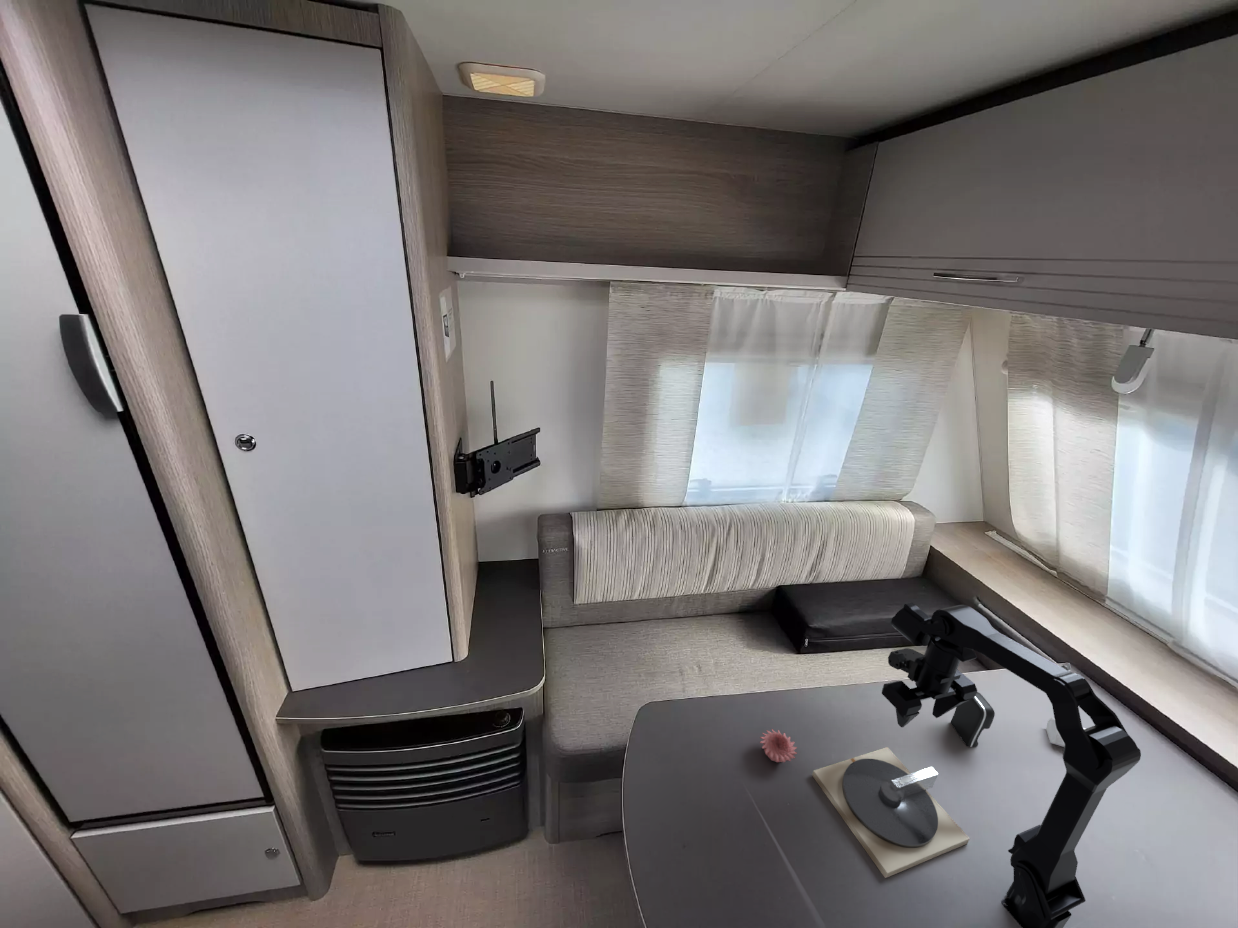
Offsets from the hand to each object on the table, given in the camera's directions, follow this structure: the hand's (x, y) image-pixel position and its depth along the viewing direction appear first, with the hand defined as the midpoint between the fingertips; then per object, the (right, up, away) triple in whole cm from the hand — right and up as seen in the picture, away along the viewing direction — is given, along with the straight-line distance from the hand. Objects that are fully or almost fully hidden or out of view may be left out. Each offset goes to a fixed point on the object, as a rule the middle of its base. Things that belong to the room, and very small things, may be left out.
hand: (917, 720), depth 105 cm
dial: (-8, -14, -4) cm, 17 cm away
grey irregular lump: (+53, -6, +31) cm, 62 cm away
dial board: (-8, -16, -3) cm, 18 cm away
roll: (+45, -13, +13) cm, 48 cm away
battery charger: (+19, -11, +14) cm, 26 cm away
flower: (-28, -11, +6) cm, 30 cm away
